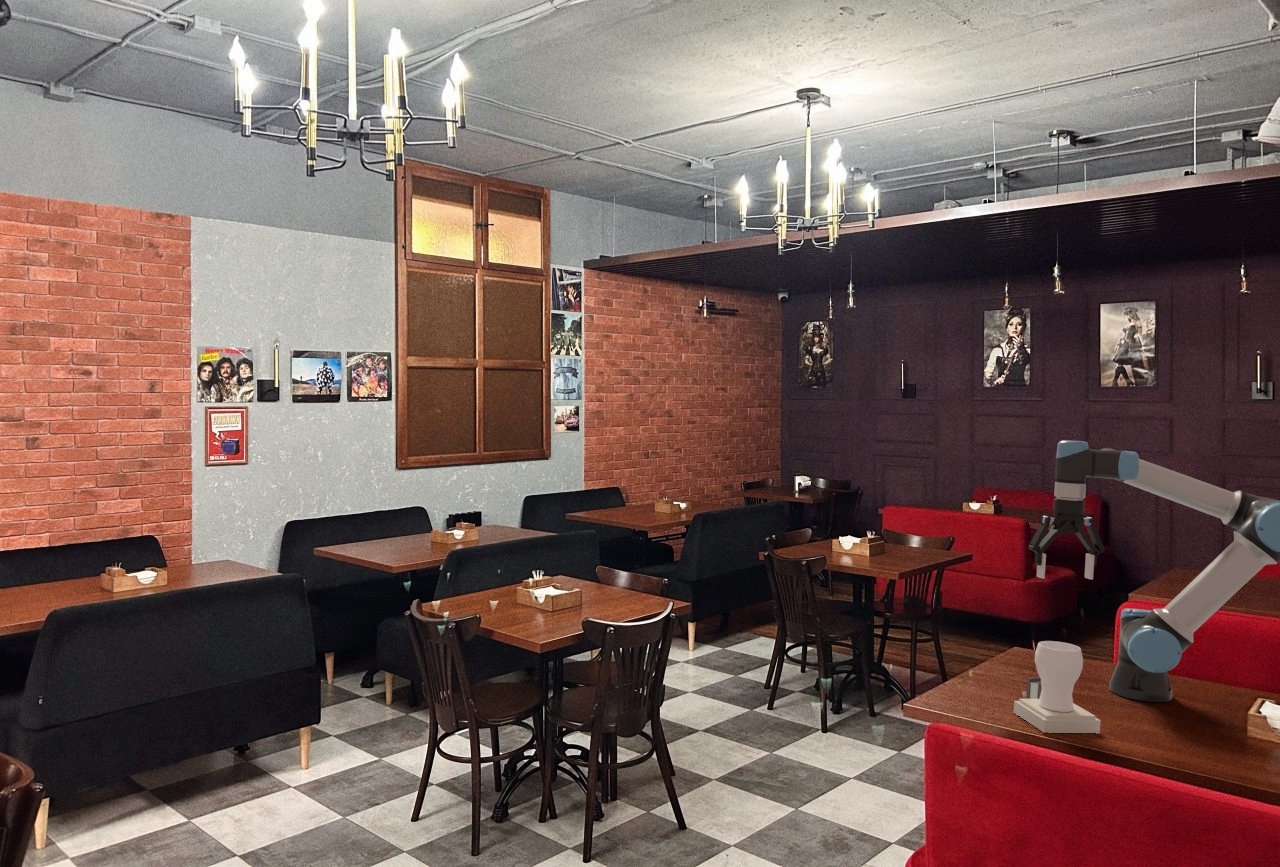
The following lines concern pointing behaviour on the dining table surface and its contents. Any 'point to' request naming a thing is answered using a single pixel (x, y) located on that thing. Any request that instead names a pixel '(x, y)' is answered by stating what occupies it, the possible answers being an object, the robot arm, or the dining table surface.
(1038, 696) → the napkin holder
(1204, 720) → the dining table surface
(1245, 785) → the dining table surface
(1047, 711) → the pedestal
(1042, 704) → the cup
